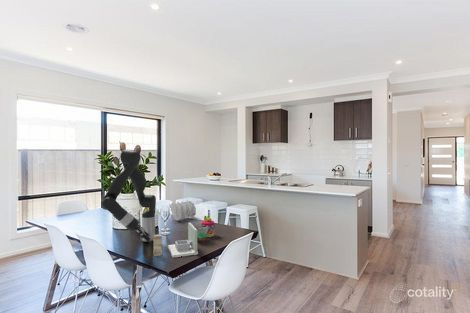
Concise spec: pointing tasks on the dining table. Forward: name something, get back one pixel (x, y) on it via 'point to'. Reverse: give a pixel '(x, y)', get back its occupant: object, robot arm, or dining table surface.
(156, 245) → the rail post
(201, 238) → the food container
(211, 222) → the cake
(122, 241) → the dining table surface
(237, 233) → the dining table surface
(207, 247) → the dining table surface
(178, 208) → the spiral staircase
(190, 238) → the cup bracket
